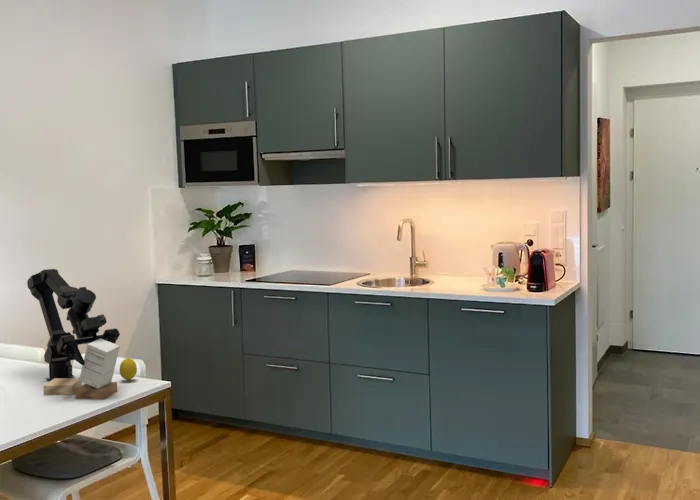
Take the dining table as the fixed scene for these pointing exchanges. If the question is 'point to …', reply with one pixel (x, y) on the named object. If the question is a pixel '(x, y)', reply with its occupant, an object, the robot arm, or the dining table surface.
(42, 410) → the dining table surface
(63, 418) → the dining table surface
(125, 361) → the lemon
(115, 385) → the walnut block
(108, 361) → the supplement box
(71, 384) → the pale oak block
